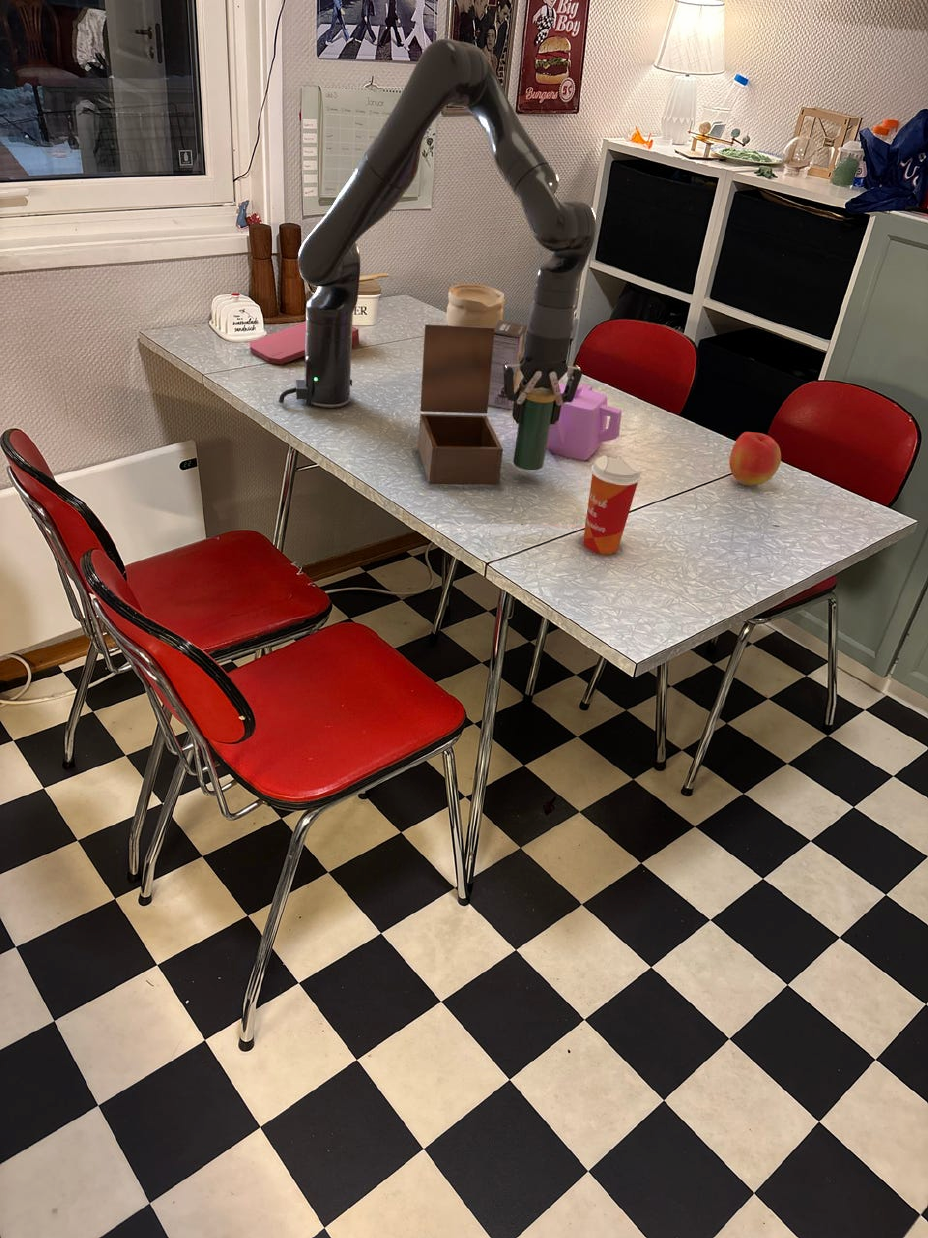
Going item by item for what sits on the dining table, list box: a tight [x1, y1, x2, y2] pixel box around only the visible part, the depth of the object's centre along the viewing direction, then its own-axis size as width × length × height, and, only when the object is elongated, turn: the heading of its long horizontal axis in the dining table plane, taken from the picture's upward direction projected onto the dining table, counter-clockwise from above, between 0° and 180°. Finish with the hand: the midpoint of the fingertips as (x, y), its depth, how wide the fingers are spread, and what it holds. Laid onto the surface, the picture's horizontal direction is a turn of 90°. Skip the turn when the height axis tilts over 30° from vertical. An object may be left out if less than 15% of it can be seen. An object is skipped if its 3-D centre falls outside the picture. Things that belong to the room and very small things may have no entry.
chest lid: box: [419, 323, 495, 414], centre depth 176 cm, size 16×13×1 cm
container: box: [445, 283, 505, 328], centre depth 216 cm, size 13×13×18 cm
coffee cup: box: [582, 454, 643, 555], centre depth 156 cm, size 8×8×15 cm
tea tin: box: [512, 387, 556, 471], centre depth 170 cm, size 6×6×14 cm
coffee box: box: [488, 320, 528, 410], centre depth 204 cm, size 9×6×16 cm
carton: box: [249, 321, 360, 365], centre depth 221 cm, size 12×5×25 cm
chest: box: [417, 413, 504, 486], centre depth 176 cm, size 15×13×8 cm
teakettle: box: [517, 381, 623, 461], centre depth 190 cm, size 17×17×12 cm
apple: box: [728, 431, 782, 487], centre depth 184 cm, size 10×10×10 cm
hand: (534, 422), depth 169 cm, fingers closed on tea tin, 5 cm apart
